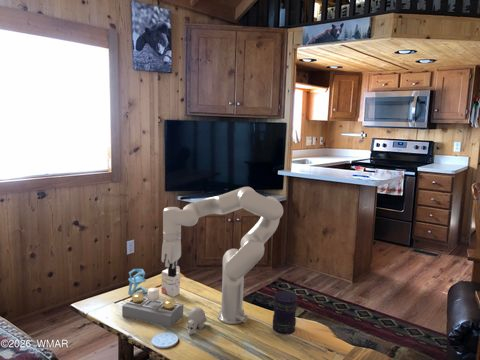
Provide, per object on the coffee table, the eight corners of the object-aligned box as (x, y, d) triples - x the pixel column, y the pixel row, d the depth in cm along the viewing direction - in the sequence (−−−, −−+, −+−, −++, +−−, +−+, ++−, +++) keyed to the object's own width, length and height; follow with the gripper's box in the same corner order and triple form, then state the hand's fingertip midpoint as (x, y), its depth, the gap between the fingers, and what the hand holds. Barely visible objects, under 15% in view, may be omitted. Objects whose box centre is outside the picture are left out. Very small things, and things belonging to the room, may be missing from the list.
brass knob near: (176, 306, 167) (176, 300, 167) (171, 311, 162) (171, 305, 162) (166, 304, 169) (166, 298, 168) (161, 309, 164) (161, 303, 163)
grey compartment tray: (183, 314, 171) (183, 302, 170) (170, 327, 159) (170, 315, 158) (137, 304, 178) (137, 293, 177) (122, 316, 167) (122, 304, 166)
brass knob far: (145, 300, 172) (145, 294, 171) (139, 304, 167) (139, 298, 167) (136, 298, 173) (136, 292, 173) (129, 302, 169) (129, 296, 168)
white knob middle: (161, 297, 169) (161, 288, 168) (155, 301, 164) (155, 293, 164) (151, 295, 171) (151, 286, 170) (145, 299, 166) (145, 291, 165)
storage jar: (267, 327, 163) (269, 294, 161) (283, 320, 169) (285, 289, 167) (284, 337, 155) (286, 303, 153) (300, 330, 161) (302, 297, 159)
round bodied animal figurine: (182, 337, 156) (178, 323, 152) (195, 315, 166) (191, 302, 162) (197, 341, 154) (193, 327, 150) (209, 319, 164) (206, 305, 159)
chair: (125, 292, 191) (125, 269, 189) (140, 287, 196) (140, 265, 194) (132, 297, 185) (132, 274, 183) (148, 292, 190) (148, 270, 189)
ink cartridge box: (160, 292, 191) (161, 265, 189) (167, 289, 195) (167, 262, 193) (173, 297, 187) (173, 269, 185) (180, 293, 191) (180, 266, 189)
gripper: (172, 230, 170) (172, 268, 173) (155, 239, 156) (155, 281, 158) (187, 232, 168) (187, 271, 170) (171, 241, 154) (171, 284, 156)
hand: (172, 276), depth 164 cm, fingers closed
